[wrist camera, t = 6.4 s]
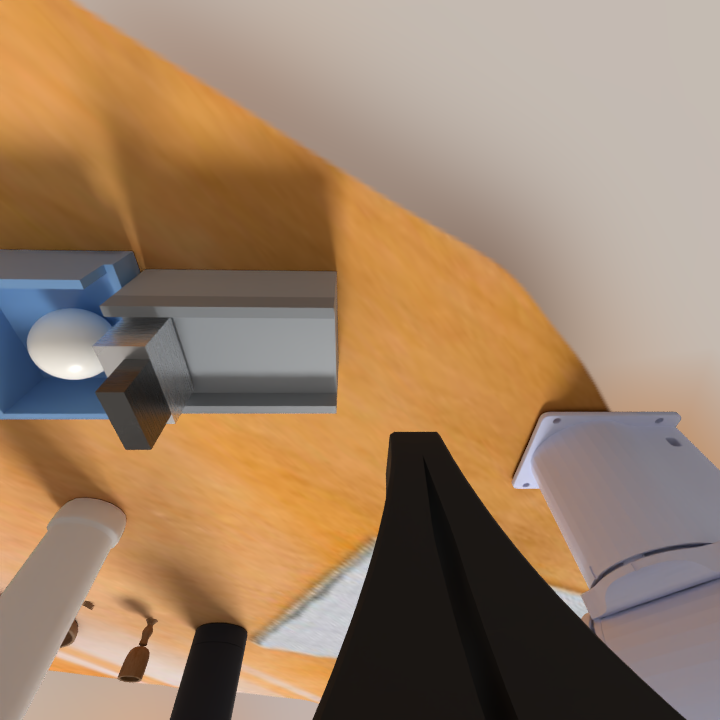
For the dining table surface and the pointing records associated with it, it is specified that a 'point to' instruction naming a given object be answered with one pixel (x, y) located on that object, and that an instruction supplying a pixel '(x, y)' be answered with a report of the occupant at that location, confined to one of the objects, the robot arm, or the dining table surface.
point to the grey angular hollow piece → (142, 379)
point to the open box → (39, 297)
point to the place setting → (135, 658)
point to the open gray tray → (246, 335)
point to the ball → (67, 343)
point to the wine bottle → (211, 673)
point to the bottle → (51, 596)
